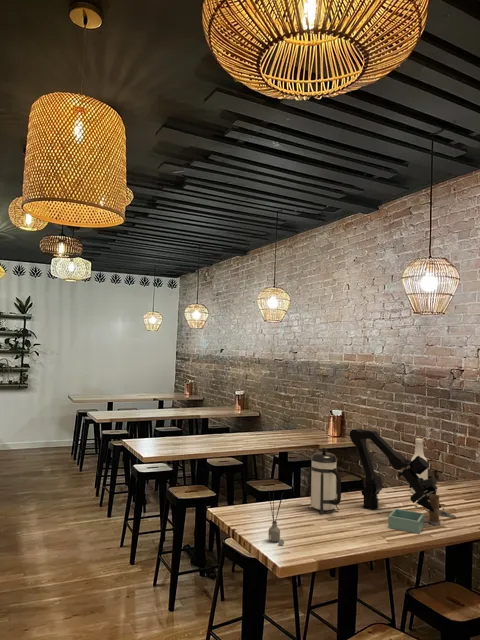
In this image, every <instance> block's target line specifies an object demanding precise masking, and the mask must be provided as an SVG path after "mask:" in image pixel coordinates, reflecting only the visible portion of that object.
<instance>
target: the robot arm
mask: <svg viewBox="0 0 480 640" xmlns="http://www.w3.org/2000/svg"><path fill="white" fill-rule="evenodd" d="M348 434H349V438H350V441H351V442H352V444H353V445H354V446H355V447H356V450H357V453H358V456H359V459H360V462H361V465H362V469H363V471H364V475H365V482H364V484H365V487H364V488H363V489H362V490H361V491H360V492H361V495H362V496H363V505H362V508H364V509H369V510H374V511H375V510H377V509H378V508H379V501H380V500H379V498H378V495H379V494H380V492H381V491H382V489H383V484H384V483H383V481H382V477H381V475H377V474H376V472H375V469H374V465H373V463H372V460H371V457H370V453H369V450H368V447H367V440H370V441H371V442H372V443H373V444H374V445H375V446H376V447H377V448H378V449H379V450H380V451H381V452H382V453H383V454H384V455H385V457H386V458H387V460H388V463H389V464H390V465H391V467H392V469H394V470H397V471H398V472H397V473H398V475H397V478H398V479H400V478H403V479H404V480H405V481H406V482H407V484H408V485H409V486H408V487H409V489H411V488H412V489H413V490H414V491H415V492H416V493H414V494H413V493H412V495H411V496H410V501H411V502H412V503H413V504H414V503H415V504H418V505H420V506H421V507H423V508H424V509H425V510H430V511H432V512H434V511H435V510H434V509H433V507H432V505H431V504H430V502H429V494H430V493H431V494H435V495H437V492H438V489H439V488H438V487H437V484H438V482H437V478H436V477H435V476H434V475H432V474H431V475H428V479H426V480H424V479H423V478H419V477H418V476H417V474H421V473H423V472H424V471H425V470H426V469H427V468H430V464H429V463H428V460H427V461H426V460H424V459H423V458H421V457H420V456H417V457H416V458H415V459H414V460H413V461H411V459H407V458H406V457H405V456H404V455H403V454H401V452H397V451H396V450H394V448H392V447H391V446H390V444H388V442H387V441H385V440H384V438H383V437H382V436H381V435H380V434H379V433H378V432H377V430H368V429H367V430H366V429H365V430H364V429H363V428H355V429H352V430H351V431H350V432H349V433H348ZM408 467H409V468H408ZM402 469H403V470H402ZM401 470H402V471H401ZM441 505H442V504H440V502H439V509H441V508H442V506H441Z"/></svg>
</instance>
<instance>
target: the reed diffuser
mask: <svg viewBox="0 0 480 640" xmlns="http://www.w3.org/2000/svg"><path fill="white" fill-rule="evenodd" d="M284 493H285V491H284V490H283V492H282V493H281V496H280V500H279V505H278V509H277V512H276V517H275V504H274V503H275V502H274V501H275V498H274V497H275V496H274V495H275V489H272V500H271V499H269V503H270V510H271V516H272V517H271V518H272V522H271V524H272V525H271V526H270V527H269V528H268V537H267V538H268V540H269V541H271V542H278V545H279V546H283V545H284V544H285V540H284V539H282V538H281V528H279V527H278V521H277V518H278V514H279V511H280V508H281V504H282V499H283V496H284ZM268 495H269V496H268V497H269V498H271V496H270V495H271V494H270V489H268ZM272 502H273V503H272ZM272 506H273V507H272Z"/></svg>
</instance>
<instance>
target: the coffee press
mask: <svg viewBox="0 0 480 640" xmlns="http://www.w3.org/2000/svg"><path fill="white" fill-rule="evenodd" d="M310 460H311V464H310V465H311V466H310V504H309V505H308V506H307V508H308V509H309V510H311V509H312V508H314V509H316V510H319V515H324V511H331V510H334V511H335V512H336V513H339V511H340V509H339V507H338V506H339V504H341V501H342V477H341V475H340V473H339V471H338V466H337V462H338V458H337V457H336V455H335V454H333V453H332V452H327V448H326V447H322V449H321V451H317V452H314V453H313V454H312V455H311V457H310ZM310 506H311V507H310Z"/></svg>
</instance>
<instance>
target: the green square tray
mask: <svg viewBox="0 0 480 640" xmlns="http://www.w3.org/2000/svg"><path fill="white" fill-rule="evenodd" d="M387 521H388V522H387V523H388V524H387V525H388V526H387V527H388V529H391V530H392V529H393V530H398V531H402V532H408V533H412V534H418V535H419V534H420V533H421V532H422V530H423V528H424V527H425V513H421V512H416V511H411V510H405V509H400V508H394V509H393V510H392V511H391V512H390V513H389V515H388V517H387Z"/></svg>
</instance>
